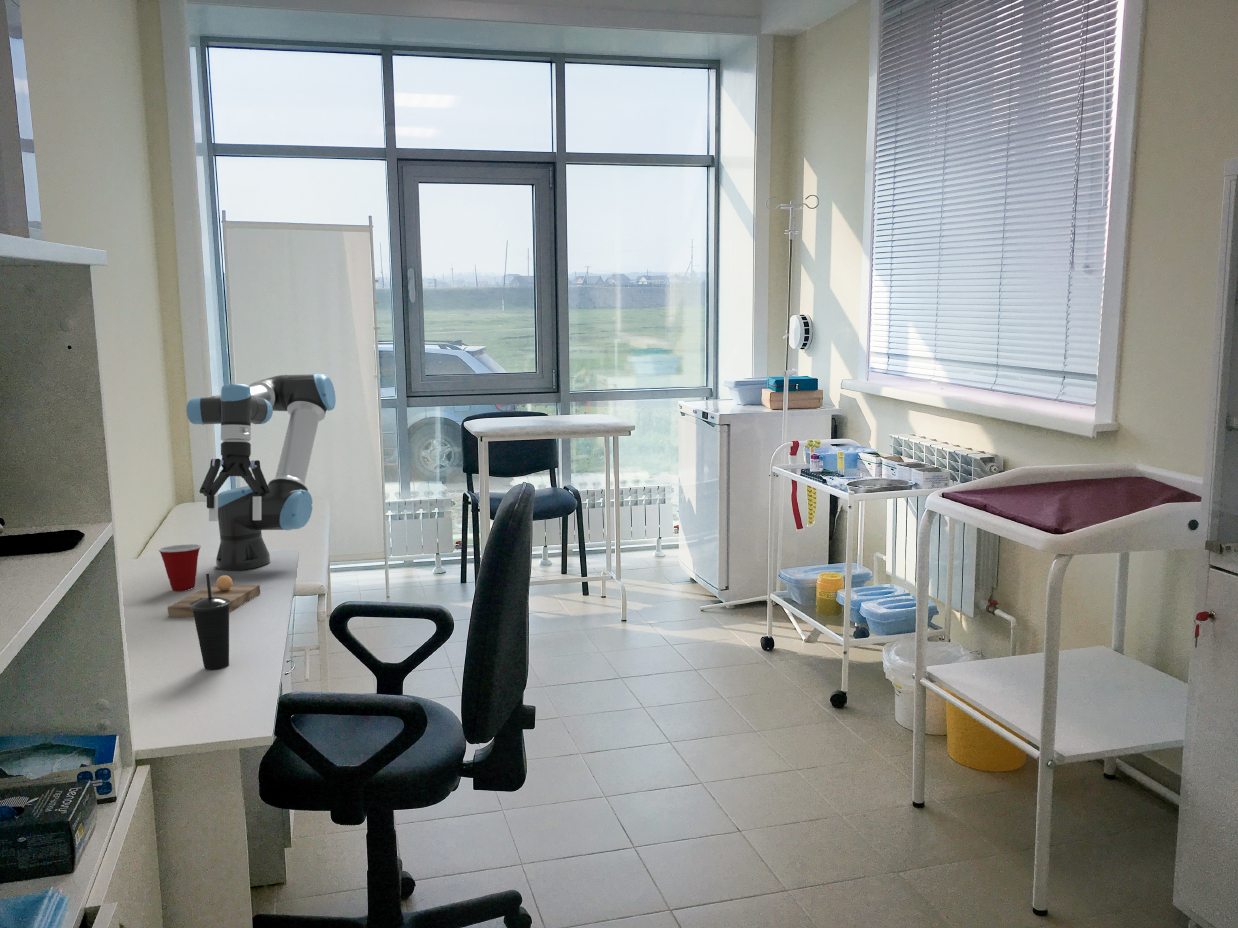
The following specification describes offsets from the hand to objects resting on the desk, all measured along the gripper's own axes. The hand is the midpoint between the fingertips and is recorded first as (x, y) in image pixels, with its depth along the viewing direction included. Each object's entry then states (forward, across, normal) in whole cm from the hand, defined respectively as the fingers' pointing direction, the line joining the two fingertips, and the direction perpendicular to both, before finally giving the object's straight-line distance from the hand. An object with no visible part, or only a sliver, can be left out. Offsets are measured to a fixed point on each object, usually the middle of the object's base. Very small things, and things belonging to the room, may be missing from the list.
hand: (235, 520), depth 264 cm
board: (+22, -9, -4) cm, 24 cm away
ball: (+16, -6, -3) cm, 17 cm away
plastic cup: (+18, -3, +18) cm, 26 cm away
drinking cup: (+30, -38, -45) cm, 66 cm away
